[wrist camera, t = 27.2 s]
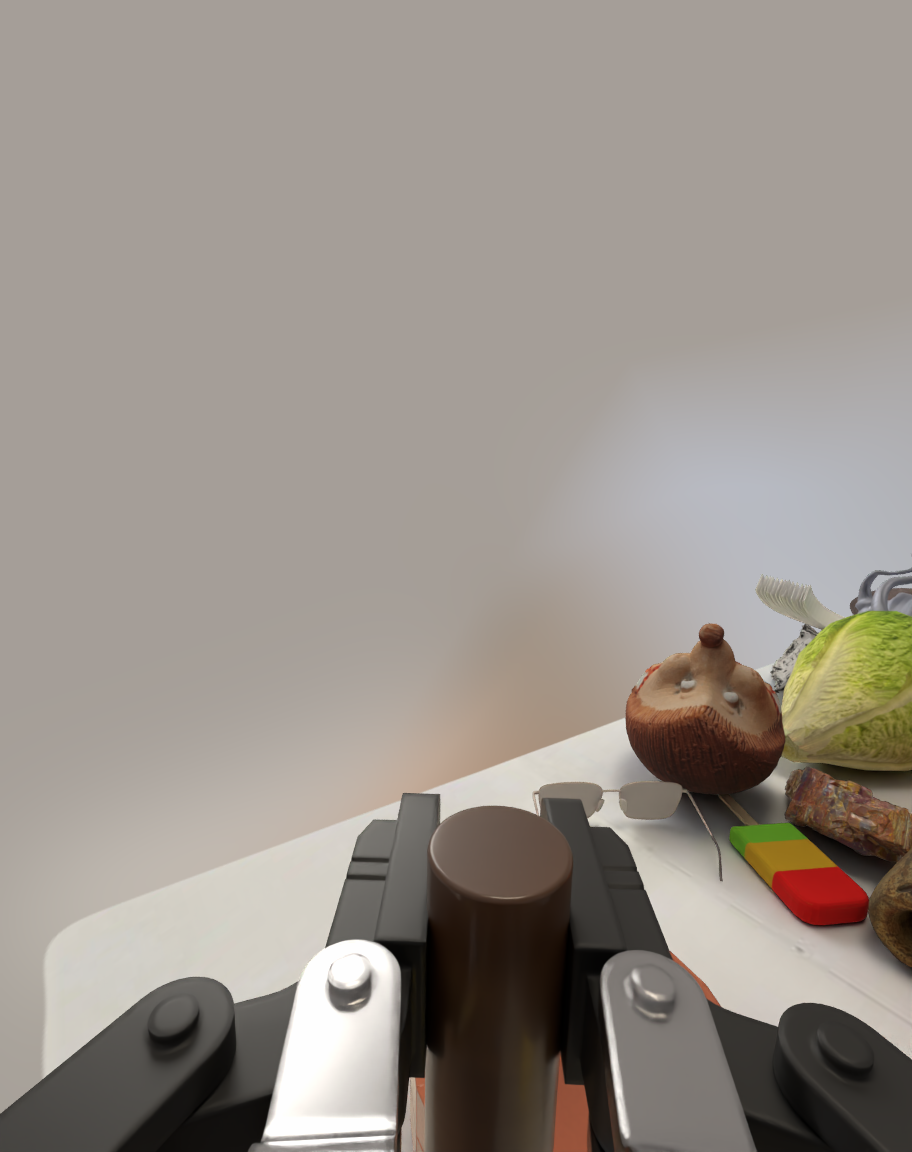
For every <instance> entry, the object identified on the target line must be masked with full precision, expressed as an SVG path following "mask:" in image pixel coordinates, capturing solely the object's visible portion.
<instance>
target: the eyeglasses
mask: <svg viewBox="0 0 912 1152" xmlns="http://www.w3.org/2000/svg"><path fill="white" fill-rule="evenodd" d="M603 792H619V799H620V801H619V803H620V807H621V810H622V811H623V812H624V814H625V815H626V816H627V817H629V818H633V819H643V820H653V819H664V818H667V817H670V816H671V815H672V814H673V813H674V812H675V810H676V809H677V806H678V804H679V802H680V799H681V796H682V792H683V793H687V794H688V795H689V797H690V799H691V801H692V803H693V804H694V806H695V808H696V810H697V811H698V813H699V815H700V817H701V819H702V820H703V822H704V824H705V826H706V827H707V829H708V831H709V833H710V834H711V837H712V839H713V841H714V843H715V845H716V847H717V850H718V854H719V873H720V881H723V880H722V866H721V854H720V849H719V847H718V844H717V842H716V840H715V838H714V836H713V835H712V833H711V831H710V830H709V828H708V826H707V824H706V822H705V820H704V818H703V816H702V815H701V813H700V811H699V809H698V807H697V805H696V803H695V801H694V800H693V798H692V796H691V794H690V793H689V791H688V790H687V789H682V786H681V785H680V784H677V783H672V782H662V781H641V782H632V783H628V784H626V785H624V786H623V787H622V788H621V789H620V790H603V791H602V788H601V787H600V786H599V785H597V784H594V783H587V782H563V783H553V784H547V785H544V786H542V787H541V788H540V789H539V791H534V792H533V801H534V805H535V809H536V813H537V815H538V816H539V813H538V809H537V804H536V799H535V794H539V804H540V809H541V801H542V798H569V799H581V801H582V803H583V806H584V810H585V813H586V816H587V818H589V817H590V816H592V815H593V813H594V812H595V811H596V812H598V811H599V810H600V809H601V807H602V806H603V803H604V800H603V799H601V798H602V794H603Z"/></svg>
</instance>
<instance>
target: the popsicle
mask: <svg viewBox="0 0 912 1152" xmlns="http://www.w3.org/2000/svg"><path fill="white" fill-rule="evenodd" d="M719 798H720V799H721V800H722V801H723V802H724V803H725V804H726V805H727V806H728V807H729V808H730V809H731V810H732V811H733V813H734V814H735V815H736V816H737V817H738V818H739V819H740V820H741V821H742V822H743V823H744V824H745V825H746V826H734V827H732V828H731V830H730V836H729V840H730V842H731V843H732V845H733V846H734V847H735V848H736V849H737V850H738V851H739V852H740V854H741V855H742V856H743V857H744V858H745V859H746V860H747V862H748V863H749V864H750V865H751V866H752V867H753V868H754V869H755V871H756V872H757V873H758V874H759V875H760V876H761V877H762V878H763V880H764V881H765V882H766V883H767V884H768V885H769V886H770V888H771V889H772V890H773V891H774V892H775V893H776V894H777V895H778V897H779V898H780V899H781V900H782V901H783V902H784V903H785V905H786V906H787V907H788V908H789V909H790V910H791V911H792V912H793V913H794V914H795V915H796V916H797V917H798V918H800V919H801V920H802V921H804V922H806V923H808V924H813V925H830V924H840V923H851V922H858V921H862V920H863V919H865V918H866V916H867V913H868V906H869V898H868V896H867V894H866V892H865V891H864V890H863V889H862V888H861V887H860V886H859V885H858V884H857V883H856V882H854V881H853V880H852V879H851V878H850V877H849V876H848V875H847V874H846V873H845V872H844V871H842V870H841V869H840V868H839V867H838V866H837V865H836V864H835V863H834V862H833V861H832V860H830V859H829V858H828V857H827V856H826V855H825V854H824V853H823V852H822V851H821V850H820V849H819V848H817V847H816V846H815V845H814V844H813V843H812V842H811V841H810V840H809V839H808V838H807V837H805V836H804V835H803V834H802V833H801V832H800V831H799V830H798V829H797V828H796V827H795V826H793V825H792V824H791V823H777V824H762V825H759V824H758V823H757V822H756V821H755V820H754V819H753V818H752V817H751V816H750V815H749V814H748V813H747V812H746V811H745V810H744V809H743V808H742V807H741V806H740V805H739V804H738V803H737V802H736V801H735V800H734V799H733V798H732V797H731V796H730V795H729V794H719Z"/></svg>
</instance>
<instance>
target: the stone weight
mask: <svg viewBox="0 0 912 1152" xmlns="http://www.w3.org/2000/svg"><path fill="white" fill-rule="evenodd" d="M868 911H869V917H870V920H871V923H872V926H873V928H874V930H875V932H876V934H877V935H878V937H879V939H880V940H881V941H882V943H883V944H884V945H885V946H886V947H887V948H888V949H889V950H890V952H891V953H892V954H893V955H894V956H895V957H896V958H897V959H898V960H899V961H901V962H902V963H904V964H905V965H907V966H909V967H911V968H912V848H911V849H910V850H909V851H908V853H906V854H905V855H904V856H903V857H902V858H901V859H900V860H899V861H898V862H897V863H896V864H895V865H894V866H893V867H892V868H891V869H890V870H889V871H888V872H887V874H886V875H885V876H884V877H883V878H882V879H881V881H880V882H879V884H878V885H877V886H876V888H875V889H874V891H873V893H872V895H871V897H870V900H869V906H868Z"/></svg>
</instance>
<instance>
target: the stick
mask: <svg viewBox="0 0 912 1152" xmlns="http://www.w3.org/2000/svg"><path fill="white" fill-rule="evenodd" d="M572 876H573V855H572V851H571V848H570V846H569V843H568V842H567V840H566V838H565V837H564V835H563V834H562V833H561V832H560V831H559V830H558V829H557V828H556V827H555V826H554V825H553V824H551V823H550V822H549V821H547V820H545V819H544V818H542V817H540V816H538V815H536V814H533V813H531V812H528V811H525V810H522V809H517V808H513V807H506V806H481V807H475V808H470V809H466V810H463V811H460V812H458V813H456V814H454V815H452V816H450V817H448V818H447V819H445V820H444V821H443V822H442V823H441V824H439V826H438V827H437V828H436V829H435V831H434V832H433V834H432V836H431V838H430V840H429V843H428V848H427V912H428V993H427V1052H426V1066H425V1137H424V1152H553V1150H554V1135H555V1121H556V1106H557V1092H558V1077H559V1063H560V1044H561V1030H562V1016H563V1001H564V987H565V972H566V958H567V943H568V929H569V918H570V904H571V890H572Z"/></svg>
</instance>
